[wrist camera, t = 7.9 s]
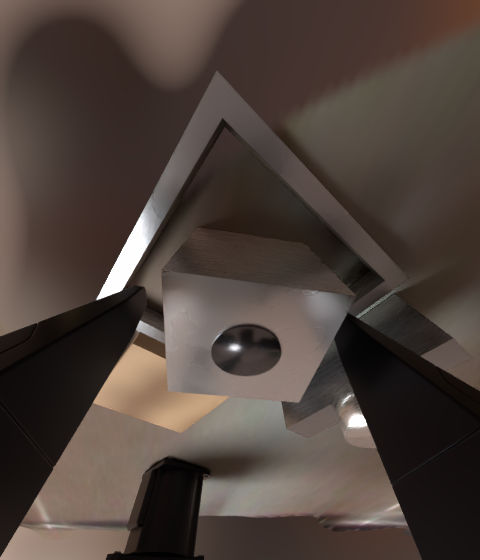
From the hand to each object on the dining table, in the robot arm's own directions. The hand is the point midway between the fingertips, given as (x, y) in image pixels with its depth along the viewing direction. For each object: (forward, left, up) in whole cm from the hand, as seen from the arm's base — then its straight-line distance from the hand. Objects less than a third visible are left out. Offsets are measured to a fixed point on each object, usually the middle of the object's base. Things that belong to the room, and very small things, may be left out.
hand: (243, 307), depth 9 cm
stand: (-1, +11, -2) cm, 11 cm away
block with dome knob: (0, 0, -2) cm, 2 cm away
